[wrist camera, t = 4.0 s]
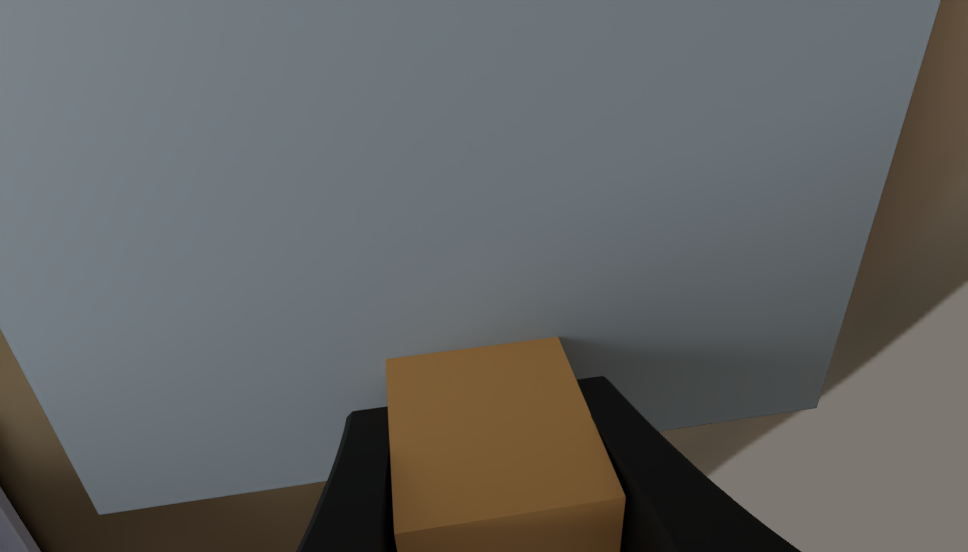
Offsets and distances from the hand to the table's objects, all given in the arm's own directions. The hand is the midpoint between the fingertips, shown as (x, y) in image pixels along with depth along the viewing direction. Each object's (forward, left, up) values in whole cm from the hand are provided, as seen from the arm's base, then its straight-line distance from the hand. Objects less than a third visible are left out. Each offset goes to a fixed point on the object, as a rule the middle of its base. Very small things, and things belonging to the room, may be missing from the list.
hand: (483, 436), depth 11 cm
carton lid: (0, +5, -1) cm, 5 cm away
